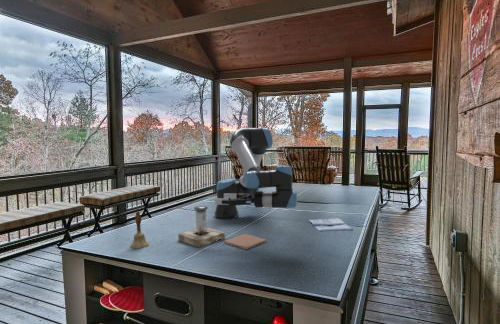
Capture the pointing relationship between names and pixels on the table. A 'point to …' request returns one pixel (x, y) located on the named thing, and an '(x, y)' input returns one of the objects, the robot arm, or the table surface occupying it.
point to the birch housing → (201, 237)
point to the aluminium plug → (201, 220)
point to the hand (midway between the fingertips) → (219, 198)
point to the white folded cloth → (335, 224)
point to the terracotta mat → (245, 241)
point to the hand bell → (139, 235)
